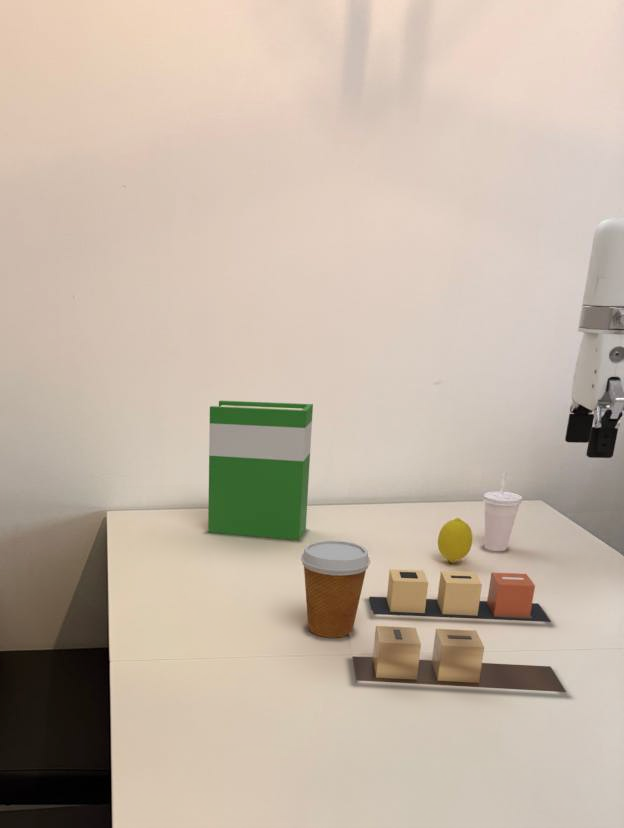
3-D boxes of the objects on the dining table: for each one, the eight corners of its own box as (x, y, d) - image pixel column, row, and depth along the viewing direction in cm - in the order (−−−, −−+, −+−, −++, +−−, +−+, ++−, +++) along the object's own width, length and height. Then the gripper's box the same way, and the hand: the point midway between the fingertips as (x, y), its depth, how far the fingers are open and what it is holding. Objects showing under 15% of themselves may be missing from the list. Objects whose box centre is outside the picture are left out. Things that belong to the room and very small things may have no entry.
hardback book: (208, 532, 168) (209, 406, 159) (217, 521, 174) (220, 400, 165) (299, 540, 162) (306, 411, 153) (305, 528, 169) (312, 404, 160)
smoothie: (504, 541, 160) (515, 466, 154) (520, 552, 154) (533, 475, 149) (470, 542, 159) (480, 468, 154) (485, 554, 154) (496, 476, 148)
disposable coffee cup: (356, 647, 119) (363, 565, 114) (288, 636, 123) (293, 556, 118) (370, 622, 127) (377, 544, 122) (306, 612, 131) (311, 536, 126)
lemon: (448, 555, 153) (453, 511, 150) (475, 563, 149) (482, 518, 146) (428, 561, 150) (433, 517, 147) (456, 570, 146) (462, 525, 143)
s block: (521, 604, 131) (526, 573, 129) (529, 617, 126) (535, 585, 124) (486, 603, 132) (491, 571, 130) (493, 616, 127) (498, 583, 125)
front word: (550, 669, 112) (557, 630, 110) (565, 694, 106) (573, 653, 104) (352, 658, 116) (355, 621, 114) (356, 683, 109) (359, 643, 107)
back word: (538, 605, 132) (543, 571, 129) (550, 624, 125) (557, 588, 123) (369, 598, 135) (372, 565, 133) (373, 616, 129) (376, 581, 127)
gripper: (668, 325, 105) (639, 464, 112) (618, 315, 121) (596, 437, 128) (602, 325, 107) (577, 463, 113) (562, 315, 122) (542, 436, 129)
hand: (587, 449), depth 120 cm, fingers open, 9 cm apart
